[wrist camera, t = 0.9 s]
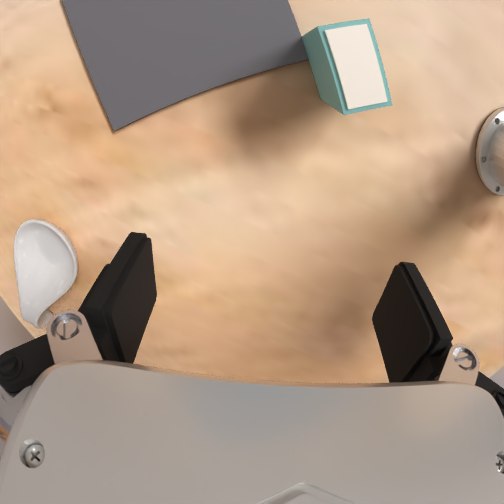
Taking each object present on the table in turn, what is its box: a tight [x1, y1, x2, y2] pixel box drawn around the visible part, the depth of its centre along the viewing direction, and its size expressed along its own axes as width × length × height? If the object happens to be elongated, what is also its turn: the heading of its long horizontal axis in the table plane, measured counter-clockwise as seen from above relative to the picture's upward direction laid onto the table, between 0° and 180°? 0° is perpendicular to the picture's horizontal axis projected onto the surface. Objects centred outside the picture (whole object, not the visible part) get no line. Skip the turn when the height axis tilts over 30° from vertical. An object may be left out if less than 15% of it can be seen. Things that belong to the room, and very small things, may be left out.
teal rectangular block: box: [302, 19, 392, 115], centre depth 23 cm, size 4×7×10 cm, turn 19°
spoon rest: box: [14, 219, 78, 329], centre depth 41 cm, size 24×12×7 cm, turn 148°
